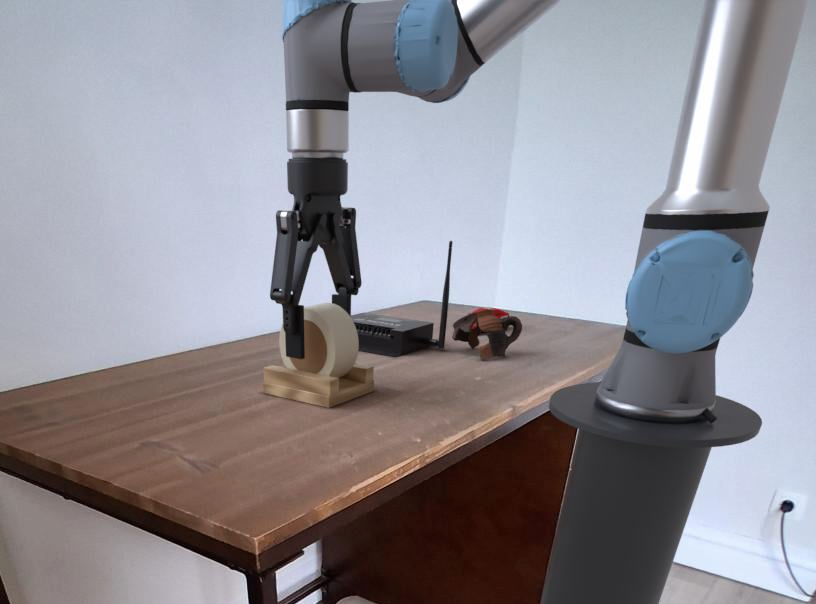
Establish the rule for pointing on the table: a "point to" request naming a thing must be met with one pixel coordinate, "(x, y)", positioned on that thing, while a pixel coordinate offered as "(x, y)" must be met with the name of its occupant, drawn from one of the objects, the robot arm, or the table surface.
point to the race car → (497, 313)
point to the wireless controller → (401, 329)
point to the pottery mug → (487, 332)
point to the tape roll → (325, 342)
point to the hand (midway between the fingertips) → (318, 350)
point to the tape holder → (318, 385)
